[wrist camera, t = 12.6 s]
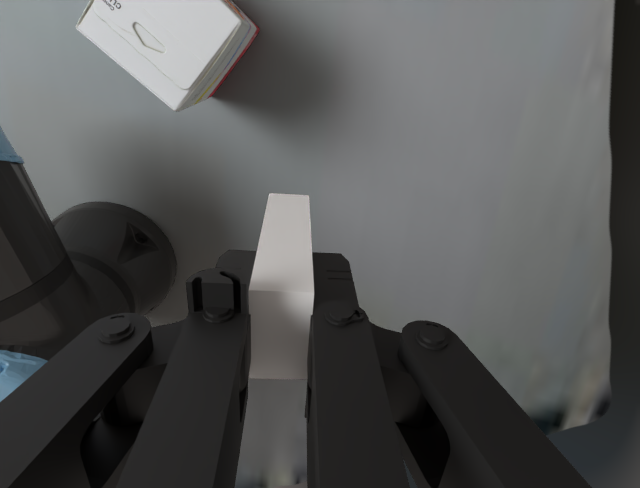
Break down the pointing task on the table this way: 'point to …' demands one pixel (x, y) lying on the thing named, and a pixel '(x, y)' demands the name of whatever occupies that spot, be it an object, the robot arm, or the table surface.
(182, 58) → the ink box
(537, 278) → the table surface
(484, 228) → the table surface
